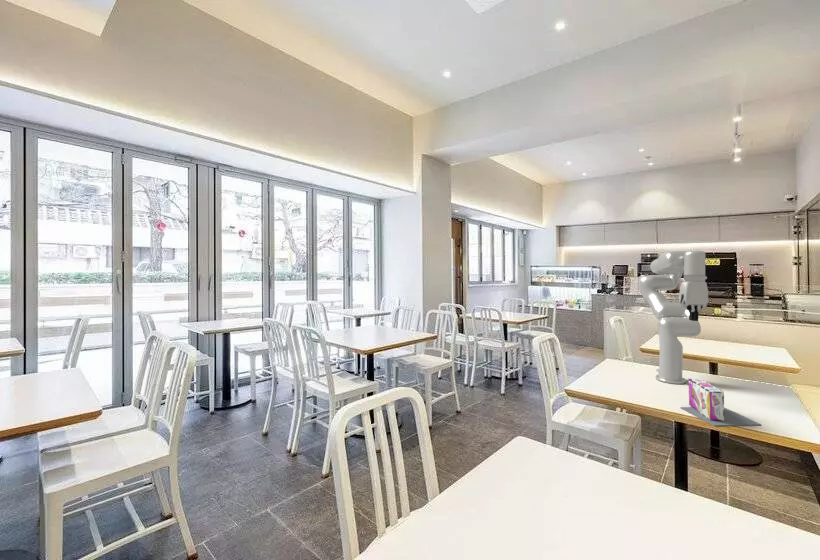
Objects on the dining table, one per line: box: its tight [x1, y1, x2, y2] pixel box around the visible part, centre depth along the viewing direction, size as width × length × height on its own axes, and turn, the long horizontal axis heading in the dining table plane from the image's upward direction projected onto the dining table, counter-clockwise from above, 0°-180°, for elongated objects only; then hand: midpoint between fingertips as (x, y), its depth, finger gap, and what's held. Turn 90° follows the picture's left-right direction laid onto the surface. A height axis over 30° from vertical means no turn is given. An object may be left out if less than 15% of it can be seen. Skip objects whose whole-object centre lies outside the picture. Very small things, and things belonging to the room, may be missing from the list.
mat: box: [680, 406, 762, 427], centre depth 145 cm, size 17×17×1 cm
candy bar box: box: [687, 378, 725, 421], centre depth 147 cm, size 11×5×16 cm
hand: (693, 320), depth 167 cm, fingers closed
